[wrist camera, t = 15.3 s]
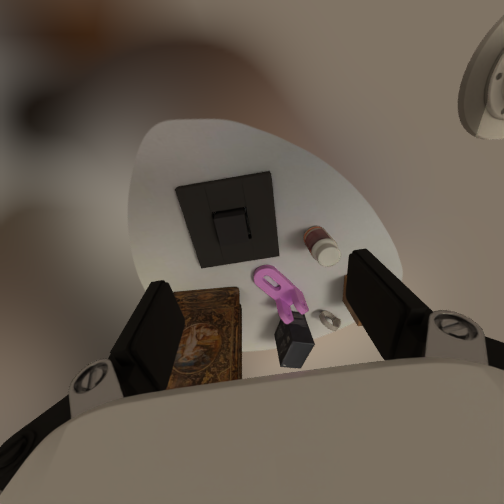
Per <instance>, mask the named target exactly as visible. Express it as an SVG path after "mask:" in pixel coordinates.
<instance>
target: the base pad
mask: <svg viewBox="0 0 504 504" xmlns="http://www.w3.org/2000/svg"><path fill="white" fill-rule="evenodd" d="M175 191H176V194H177V197H178V200H179V203H180V206H181V209H182V212H183V215H184V218H185V221H186V224H187V227H188V230H189V233H190V236H191V239H192V242H193V245H194V248H195V251H196V254H197V257H198V260H199V263H200V266H201V268H206V267H213V266H219V265H226V264H232V263H238V262H245V261H251V260H257V259H264V258H270V257H276V256H279V246H278V236H277V227H276V217H275V207H274V198H273V188H272V178H271V173H270V171H267V172H261V173H255V174H249V175H243V176H238V177H232V178H226V179H220V180H214V181H208V182H202V183H197V184H191V185H185V186H179V187H177V188H176V189H175ZM241 207H246V208H247V214H248V219H249V225H250V231H251V234H249V242H244V243H237V244H231V245H225V246H220V243H219V239H218V235H217V231H216V227H215V223H214V213H213V212H217V211H223V210H229V209H235V208H241Z"/></svg>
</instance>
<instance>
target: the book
mask: <svg viewBox="0 0 504 504" xmlns="http://www.w3.org/2000/svg"><path fill="white" fill-rule="evenodd" d="M173 294H174V296H175V298H176V300H177V303H178V305H179V307H180V309H181V311H182V314H183V316H184V318H185V326H184V330H183V333H182V337H181V340H180V344H179V347H178V351H177V354H176V358H175V361H174V365H173V368H172V372H171V375H170V379H169V382H168V386H167V388H166V390H170V389H176V388H183V387H190V386H197V385H204V384H211V383H218V382H225V381H232V380H240V379H242V308H241V305H240V304H239V289H238V288H237V287H227V288H214V289H203V290H192V291H181V292H174V293H173Z"/></svg>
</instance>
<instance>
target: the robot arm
mask: <svg viewBox="0 0 504 504" xmlns="http://www.w3.org/2000/svg"><path fill="white" fill-rule="evenodd" d="M484 100H485V106H486V108H487V110H488V112H489V113H490V114H491V115H492V116H493V117H495V118H497V119H501V120H504V48H503V50H502V51H501V53H500V54H499V56H498V57H497V59H496V61H495V62H494V65H493V67H492V69H491V71H490V73H489V76H488V79H487V82H486V86H485V95H484ZM346 299H347V301H348V303H349V305H350V306H351V308H352V309H353V311H354V313H355V314H356V316H357V317H358V319H359V321H360V322H361V324H362V325H363V327H364V329H365V330H366V332H367V333H368V335H369V337H370V338H371V340H372V341H373V343H374V345H375V346H376V348H377V349H378V351H379V353H380V354H381V356H382V357H383V359H384V360H385V361H377V362H369V363H359V364H352V365H344V366H337V367H329V368H321V369H314V370H306V371H298V372H291V373H284V374H276V375H269V376H262V377H254V378H247V379H240V380H232V381H225V382H218V383H211V384H204V385H197V386H190V387H183V388H176V389H170V390H166V388H167V386H168V382H169V379H170V375H171V372H172V368H173V365H174V361H175V358H176V354H177V351H178V347H179V344H180V340H181V337H182V333H183V330H184V326H185V318H184V316H183V314H182V311H181V309H180V307H179V305H178V303H177V300H176V298H175V296H174V294H173V291H172V289H171V287H170V285H169V283H167V282H165V281H164V280H161V281H155V282H151V283H150V285H149V287H148V288H147V290H146V292H145V294H144V295H143V297H142V299H141V301H140V302H139V304H138V305H137V307H136V309H135V311H134V312H133V314H132V316H131V318H130V319H129V321H128V323H127V324H126V326H125V328H124V329H123V331H122V333H121V335H120V336H119V338H118V340H117V341H116V343H115V345H114V347H113V348H112V350H111V352H110V353H111V354H110V356H109V358H108V359H99V360H96V361H94V362H92V363H90V364H88V365H87V366H86V367H84V368H83V369H82V370H81V371H80V372H79V373H78V374H77V375H76V376H75V377H74V379H73V380H72V382H71V384H70V386H69V395H67V396H66V397H65V398H63V399H62V400H61V401H59V402H58V403H56V404H55V405H54V406H52V407H51V408H49V409H48V410H47V411H45V412H44V413H43V414H41V415H40V416H39V417H37V418H36V419H34V420H33V421H32V422H31V423H29V424H28V425H26V426H25V427H24V428H22V429H21V430H20V431H18V432H17V433H15V434H14V435H13V436H12V437H10V438H9V439H8V440H7V441H6V442H5V443H3V445H2V446H1V447H0V504H504V343H503V342H500V341H497V340H494V339H491V338H488V337H485V335H484V332H483V330H482V328H481V327H480V326H479V325H478V324H477V323H476V322H474V321H473V320H472V319H470V318H468V317H466V316H464V315H462V314H459V313H456V312H453V311H447V310H439V311H434V312H433V311H432V310H431V309H429V307H428V306H427V305H425V304H424V303H423V302H422V301H421V300H420V299H419V298H418V297H417V296H416V295H415V294H414V293H413V292H412V291H411V290H410V289H409V288H407V287H406V286H405V285H404V284H403V283H402V282H401V281H400V280H399V279H398V278H397V277H396V276H395V275H394V274H393V273H392V272H391V271H390V270H388V269H387V268H386V267H385V266H384V265H383V264H382V263H381V262H380V261H379V260H378V259H377V258H376V257H375V256H374V255H373V254H372V253H371V252H369V251H368V250H367V249H359V250H354V251H353V252H352V254H350V255H349V261H348V272H347V283H346Z"/></svg>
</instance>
